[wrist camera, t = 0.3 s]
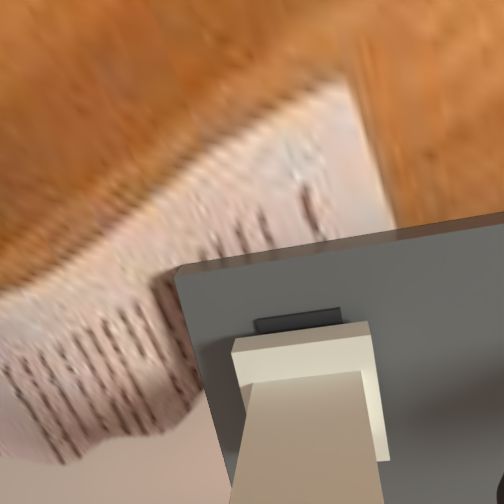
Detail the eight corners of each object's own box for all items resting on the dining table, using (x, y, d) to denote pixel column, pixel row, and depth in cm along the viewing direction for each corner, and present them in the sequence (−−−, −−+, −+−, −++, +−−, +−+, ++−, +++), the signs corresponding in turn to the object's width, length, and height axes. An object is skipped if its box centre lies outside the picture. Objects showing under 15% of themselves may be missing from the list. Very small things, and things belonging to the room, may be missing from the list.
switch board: (181, 265, 22) (170, 280, 20) (854, 153, 17) (913, 160, 16) (261, 557, 27) (257, 588, 26) (794, 530, 23) (834, 566, 21)
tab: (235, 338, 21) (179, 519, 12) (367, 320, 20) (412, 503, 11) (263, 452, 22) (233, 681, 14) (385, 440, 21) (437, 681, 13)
